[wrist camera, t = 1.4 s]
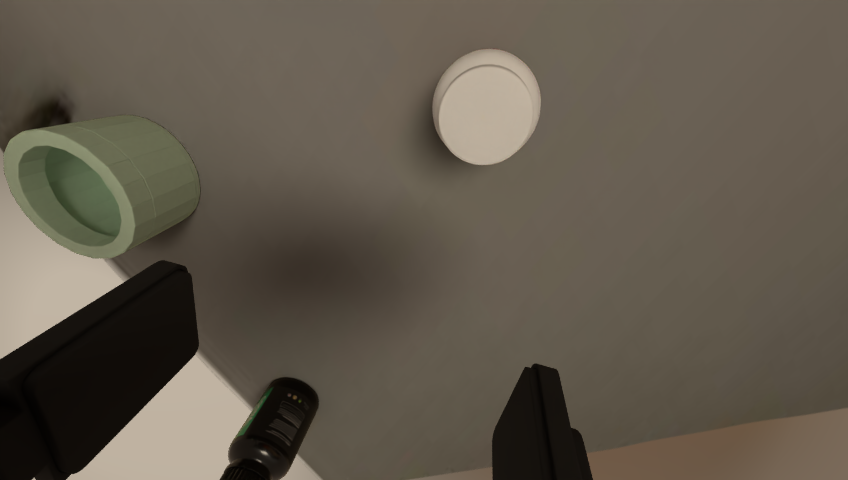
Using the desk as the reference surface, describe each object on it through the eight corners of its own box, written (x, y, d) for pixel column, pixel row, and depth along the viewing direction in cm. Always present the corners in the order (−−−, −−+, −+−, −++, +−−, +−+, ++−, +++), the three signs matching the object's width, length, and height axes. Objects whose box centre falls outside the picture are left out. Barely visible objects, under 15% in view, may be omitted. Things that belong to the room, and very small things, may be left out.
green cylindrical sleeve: (84, 101, 33) (-17, 113, 26) (196, 131, 32) (121, 151, 26) (107, 207, 38) (26, 239, 31) (204, 233, 37) (143, 272, 31)
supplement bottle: (261, 376, 46) (194, 472, 35) (311, 376, 45) (256, 476, 34) (279, 413, 49) (222, 513, 38) (326, 414, 47) (280, 518, 37)
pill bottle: (497, 29, 26) (504, 13, 16) (543, 103, 27) (576, 131, 17) (429, 87, 28) (398, 105, 18) (475, 151, 30) (470, 200, 20)
